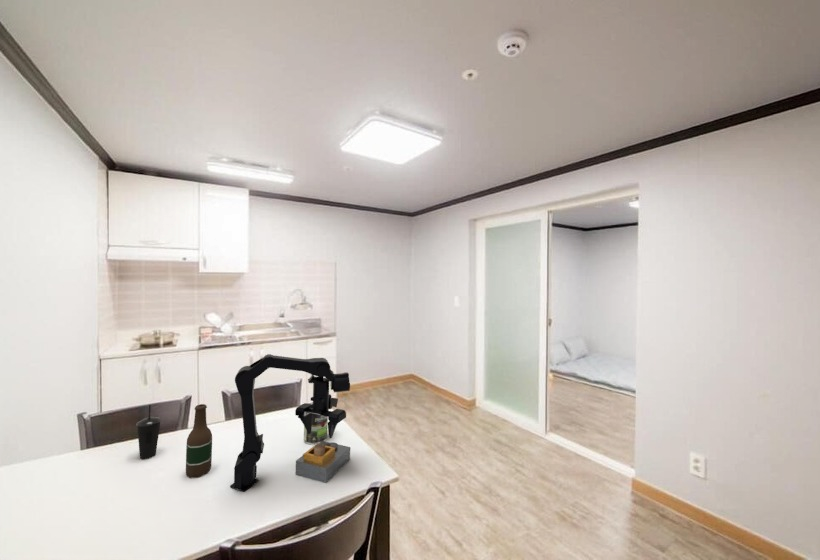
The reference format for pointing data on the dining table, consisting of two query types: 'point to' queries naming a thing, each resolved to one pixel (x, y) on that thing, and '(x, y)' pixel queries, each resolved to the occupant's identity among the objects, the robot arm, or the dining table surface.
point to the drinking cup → (148, 435)
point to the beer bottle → (199, 445)
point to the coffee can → (317, 430)
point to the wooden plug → (319, 449)
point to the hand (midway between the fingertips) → (320, 435)
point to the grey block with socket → (323, 462)
